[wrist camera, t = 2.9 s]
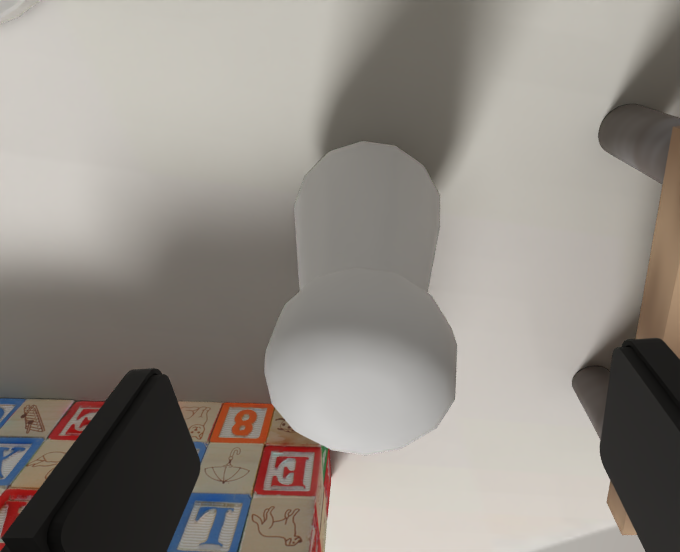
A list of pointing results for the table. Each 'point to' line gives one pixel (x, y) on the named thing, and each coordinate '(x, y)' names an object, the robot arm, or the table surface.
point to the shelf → (651, 160)
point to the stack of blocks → (214, 479)
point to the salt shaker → (364, 307)
